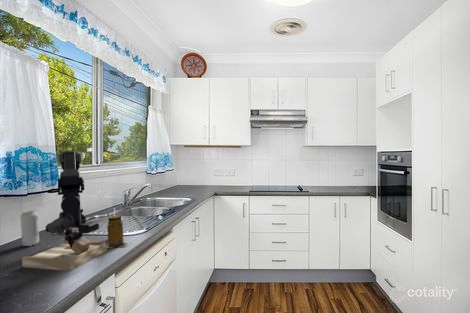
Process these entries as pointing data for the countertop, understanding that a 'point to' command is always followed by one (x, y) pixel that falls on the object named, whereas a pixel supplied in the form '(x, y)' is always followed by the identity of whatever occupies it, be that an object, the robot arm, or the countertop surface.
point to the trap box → (63, 257)
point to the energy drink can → (29, 228)
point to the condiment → (115, 232)
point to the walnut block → (81, 245)
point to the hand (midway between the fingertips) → (73, 249)
